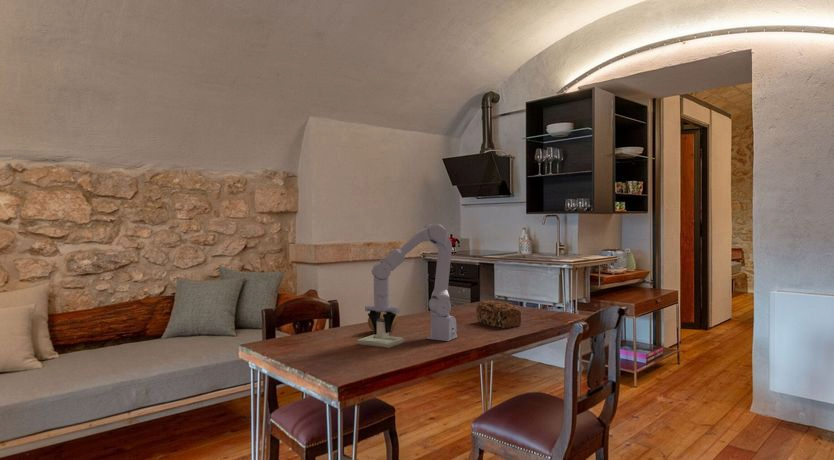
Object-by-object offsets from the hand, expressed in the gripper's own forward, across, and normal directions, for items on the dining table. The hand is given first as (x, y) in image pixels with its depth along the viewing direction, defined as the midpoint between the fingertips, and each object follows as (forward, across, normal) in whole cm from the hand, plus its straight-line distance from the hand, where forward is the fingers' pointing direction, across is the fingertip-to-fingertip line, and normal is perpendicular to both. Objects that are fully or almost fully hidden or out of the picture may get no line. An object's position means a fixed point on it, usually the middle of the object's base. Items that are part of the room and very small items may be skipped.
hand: (382, 331), depth 186 cm
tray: (+4, -1, 0) cm, 5 cm away
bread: (+5, +24, +51) cm, 57 cm away
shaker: (+2, 0, 0) cm, 2 cm away
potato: (+5, -12, +17) cm, 21 cm away
